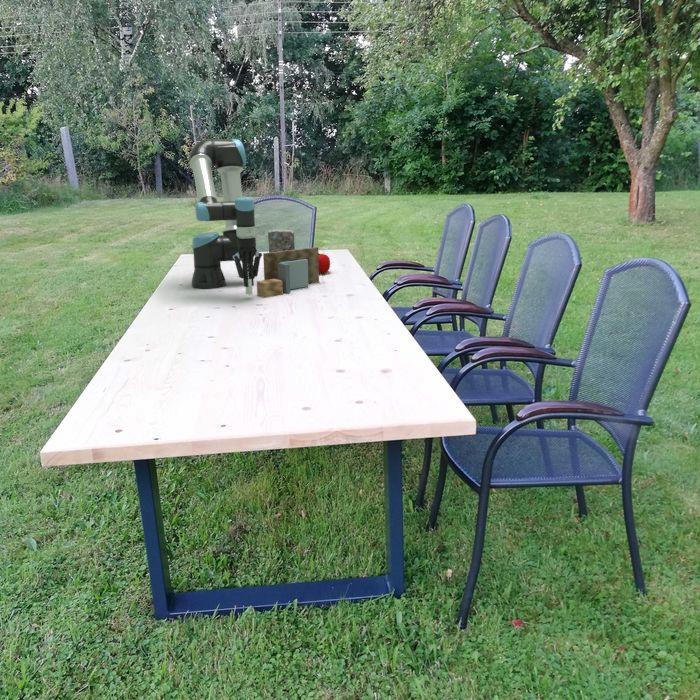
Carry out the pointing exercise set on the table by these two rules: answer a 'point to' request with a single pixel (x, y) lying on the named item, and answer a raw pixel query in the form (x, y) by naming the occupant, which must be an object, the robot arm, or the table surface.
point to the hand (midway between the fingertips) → (249, 294)
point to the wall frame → (298, 254)
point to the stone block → (281, 241)
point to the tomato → (323, 263)
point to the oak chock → (269, 287)
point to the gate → (293, 274)
